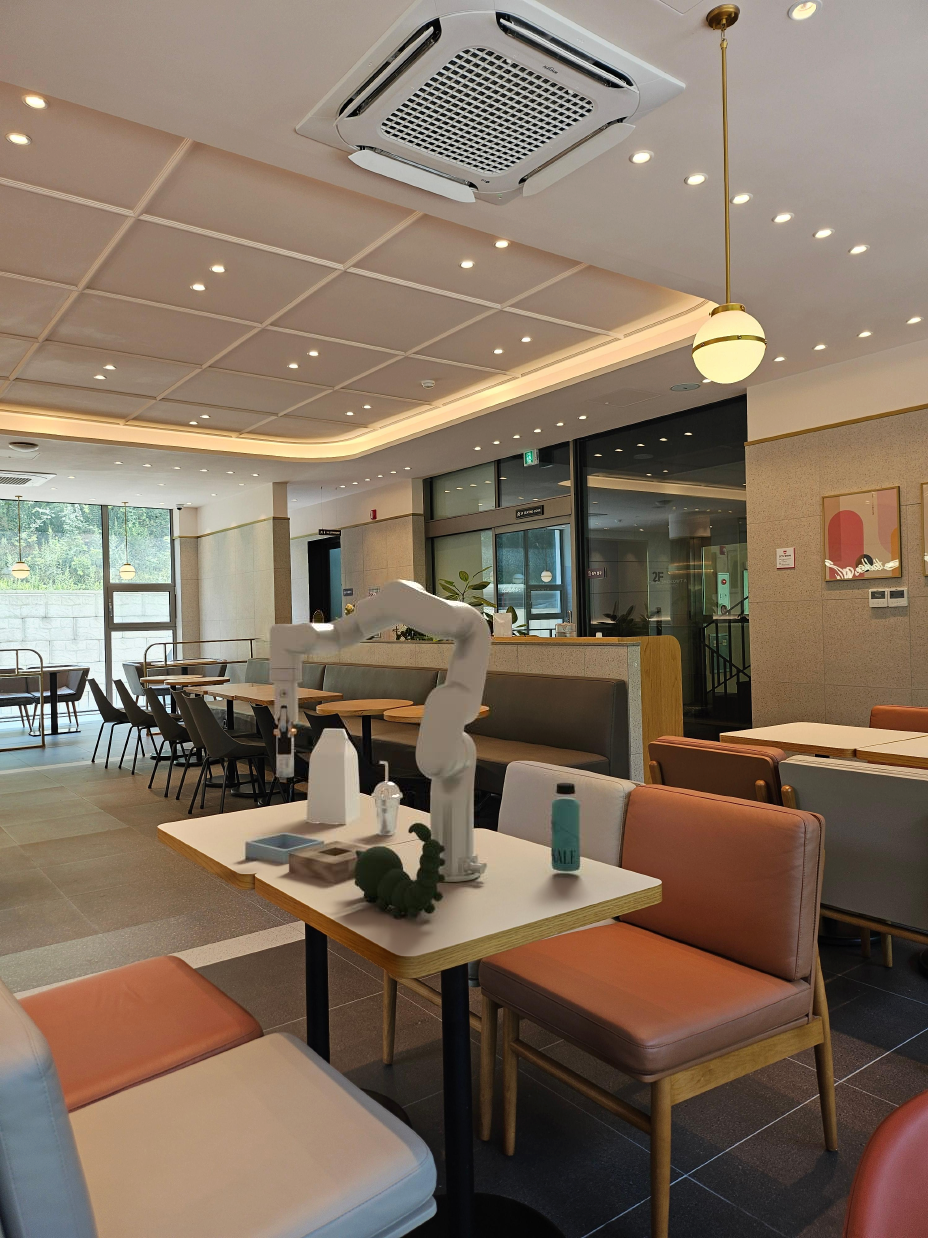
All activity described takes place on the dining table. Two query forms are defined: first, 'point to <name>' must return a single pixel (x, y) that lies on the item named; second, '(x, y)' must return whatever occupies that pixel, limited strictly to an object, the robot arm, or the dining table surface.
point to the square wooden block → (326, 861)
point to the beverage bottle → (565, 830)
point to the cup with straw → (386, 804)
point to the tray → (278, 847)
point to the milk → (333, 780)
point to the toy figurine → (401, 877)
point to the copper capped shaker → (286, 759)
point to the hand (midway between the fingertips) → (285, 752)
